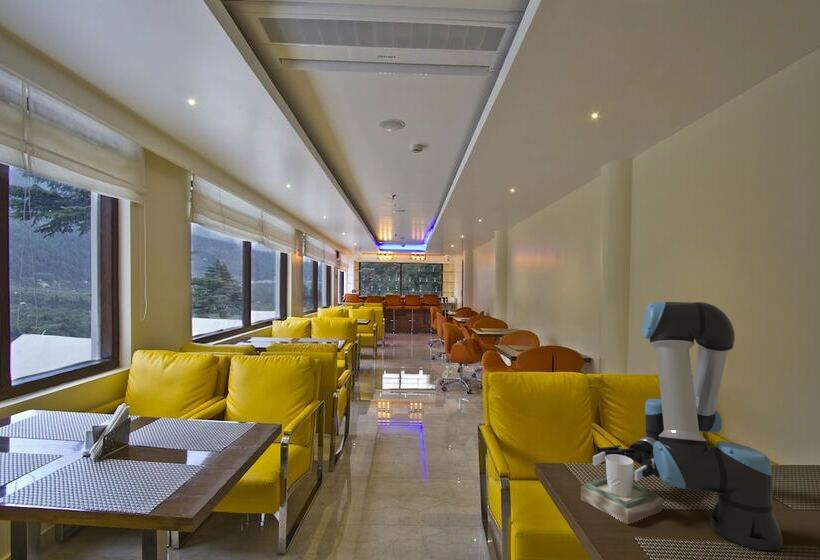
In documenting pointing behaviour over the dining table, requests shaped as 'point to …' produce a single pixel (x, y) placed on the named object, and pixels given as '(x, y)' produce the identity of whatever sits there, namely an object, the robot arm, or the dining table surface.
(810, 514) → the dining table surface
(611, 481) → the white cup
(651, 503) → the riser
